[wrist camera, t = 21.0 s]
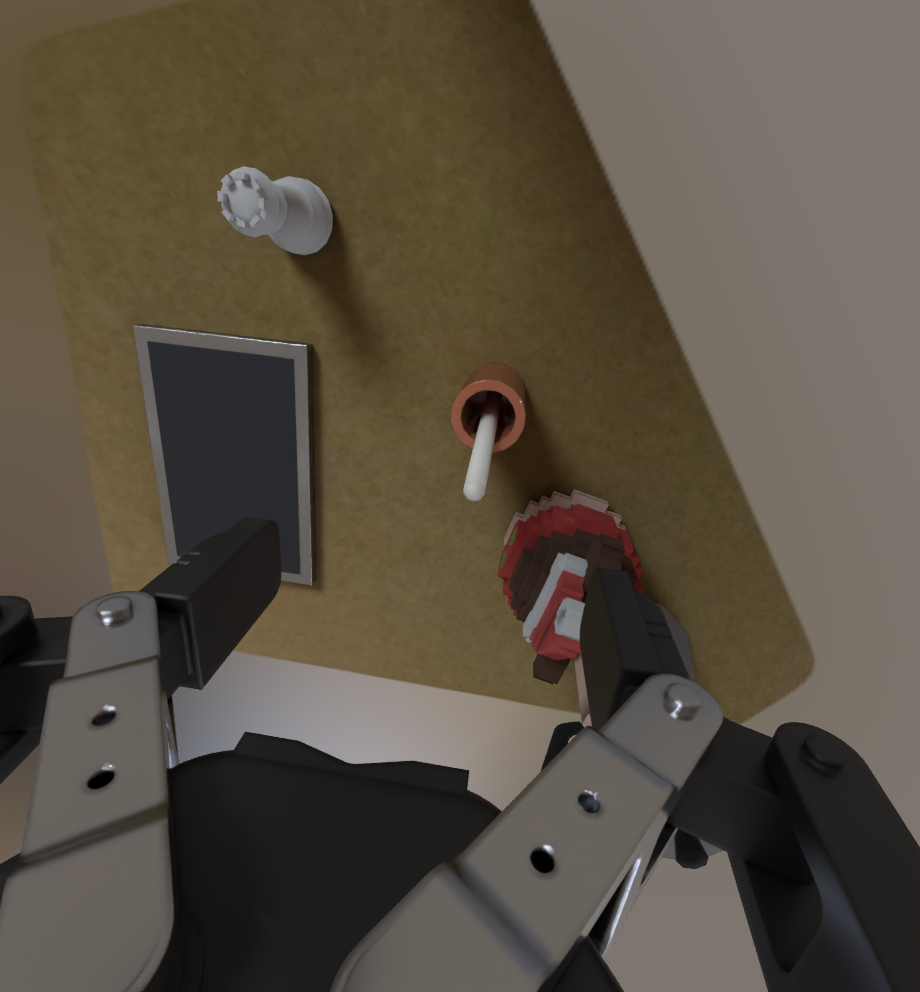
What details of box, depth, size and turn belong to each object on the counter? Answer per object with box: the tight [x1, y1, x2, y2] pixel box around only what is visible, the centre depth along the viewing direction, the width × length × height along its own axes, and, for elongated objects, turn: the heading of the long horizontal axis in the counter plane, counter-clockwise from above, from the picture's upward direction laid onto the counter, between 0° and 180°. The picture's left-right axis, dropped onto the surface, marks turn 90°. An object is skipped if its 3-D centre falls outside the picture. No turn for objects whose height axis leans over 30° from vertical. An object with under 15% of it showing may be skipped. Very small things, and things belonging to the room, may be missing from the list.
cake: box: [498, 489, 644, 726], centre depth 32 cm, size 11×9×18 cm
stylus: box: [463, 390, 502, 501], centre depth 31 cm, size 1×1×13 cm
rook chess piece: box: [218, 167, 333, 255], centre depth 30 cm, size 4×4×8 cm
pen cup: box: [451, 363, 526, 453], centre depth 33 cm, size 4×4×7 cm
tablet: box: [133, 324, 316, 585], centre depth 41 cm, size 20×13×1 cm, turn 174°
